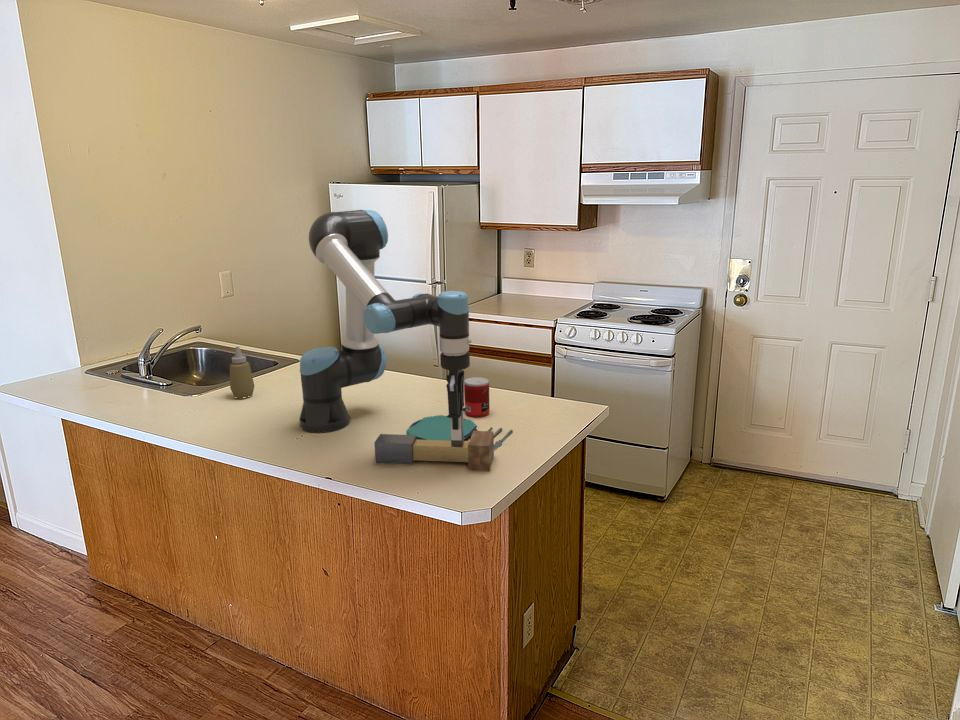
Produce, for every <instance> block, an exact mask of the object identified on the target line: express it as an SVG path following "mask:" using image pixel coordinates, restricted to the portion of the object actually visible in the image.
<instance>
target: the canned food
mask: <svg viewBox="0 0 960 720" xmlns="http://www.w3.org/2000/svg"><path fill="white" fill-rule="evenodd" d="M464 408H466V411H464V413H465V415H466V416H467V417H470V418H483V417H486V416H488V415H489V413H490V380H489V379H487V378H485V377H468V378H466V379H465V380H464Z"/></svg>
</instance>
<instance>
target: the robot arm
mask: <svg viewBox="0 0 960 720" xmlns="http://www.w3.org/2000/svg"><path fill="white" fill-rule="evenodd" d="M388 242H389V232H388V228H387V224H386V222H385V220H384V218H383V217H382V216H381V214H380V213H378V212H377V211H376V210H372V209H355V210H354V209H353V210H345V211H329V212H326V213H323V214H322V215H319V216H318V217H316V219H315V220H314V221H313V223H312V224H311V226H310V229H309V232H308V244H309V247H310V250H311V252H312V254H313V255H314V256H315V258H316V259H317V260H318V261H319V262H320V263H322V264H324V265H325V264H326V266H327V267H328V268H329V269H330V270H331V271H332V273H333V274H334V275H335V276H336V277H337V278H338V280H339V281H340V282H341V283H342V284H343V286H344V287H345V337H344V338H343V339H341V341H340V344H341V345H340V349H338V347H335V346H324V347H323V346H321V347H320V346H319V347H315V348H313V349H310V350H307V351H306V352H305V353H303V354H302V355H301V357H300V360H299V374H300V380H301V381H300V382H301V389H302V399H303V402H302V406H301V411H300V414H299V422H298V423H299V427H301V428H302V429H303V430H302V429H301V428H300V429H301V430H302V431H305V430H306V431H305V432H308V431H310V433H328V432H335V431H338V430H341V429H344V428H345V427H347V426H349V424H350V414H349V412H348V410H347V409H348V408H347V406H346V404H345V402H344V399H343V394H342V388H343V389H344V388H346V387H351V386H355V385H359V384H364V383H370V382H372V381H375V380H377V379H380V377H382V376H383V374H384V373H385V370H386V367H387V356H386V354H385V353H386V352H385V349H384V347H383V346H382V344H380V341H379V340H378V339H377V338H376V337H375V335H377V334H378V335H379V334H388V333H392V332H396V331H401V330H405V329H411V328H412V329H413V328H417V327H422V326H425V325H426V326H427V325H430V326H436V327H439V328H438V329H439V330H438V331H439V351H440V352H441V353H440V356H439V357H440V367H441V368H442V369H443V370H447V371H448V374H447V375H446V382H447V383H446V385H445V386H446V391H447V406H448V409H447V410H448V414H447V415H446V416H447V417H448V418H450V419H451V440H460V441H461V440H462V430H461V416H460V408H463V412H465V411H466V408H465V398H464V379H465V369H469V368H470V364H471V362H470V361H471V357H470V355H471V354H470V352H469V351H470V344H472V339H469V338H470V322H469V321H470V318H469V317H470V315H469V311H470V307H469V297H468V294H467V293H466V292H464V291H460V290H448V291H447V290H446V291H445V290H444V291H442V292H440V293H439V294H438V295H434V294H431V293H428V292H427V293H416V294H414V295H413V296H412V297H410V298H404V299H395V298H394V297H393V296H392V295H391V294H390V293H389V292H388V291H387V290H386V289H385V287H384V286H383V285H382V284H381V283H380V281H378V279H377V278H376V277H375V263H376V262H377V261H378V259H380V257H381V256H380V253H381V252H380V250H383V249H385V247H386V246H387V244H388Z"/></svg>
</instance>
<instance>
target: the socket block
mask: <svg viewBox="0 0 960 720" xmlns="http://www.w3.org/2000/svg"><path fill="white" fill-rule="evenodd" d="M494 433H495V432H494V431H491V430H490V431H488V430H475V431H473V433H472V435H471V436H470V438H469V444H468V462H467V463H468V471H477V470H478V471H480V470H481V472H490V471H491V467H492V463H493V459H494V455H495V451H494V450H495V449H494V444H495V442H494V441H495V440H494V439H495V437H494Z"/></svg>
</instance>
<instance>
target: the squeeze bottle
mask: <svg viewBox="0 0 960 720" xmlns="http://www.w3.org/2000/svg"><path fill="white" fill-rule="evenodd" d="M241 350H242V349H241V347H240V346H235V350H234V351H235V352H234V356H233V357H231V363H230V365H229V385H230V387H229V388H230V390H231V393H232V395H233V397H234V398H235V397H237V398H243V397H248V396H251V395H252V394H254V390H255V383H254V379H253V374H252V373H253V372H252V369H251V365H250V362H248V361H247V356H245V355H243V353H242V351H241ZM252 396H253V395H252ZM252 396H251V397H252ZM237 398H236V399H237Z"/></svg>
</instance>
